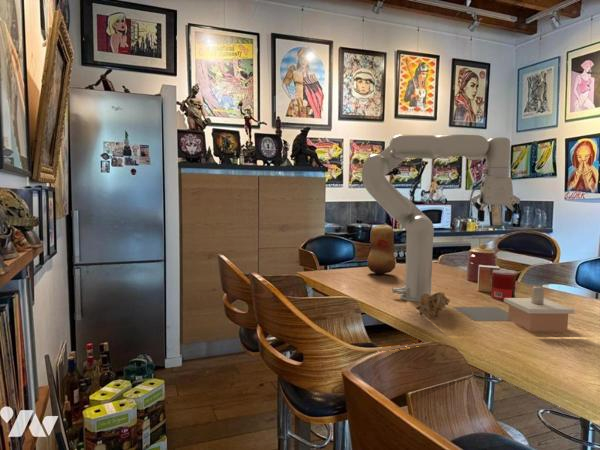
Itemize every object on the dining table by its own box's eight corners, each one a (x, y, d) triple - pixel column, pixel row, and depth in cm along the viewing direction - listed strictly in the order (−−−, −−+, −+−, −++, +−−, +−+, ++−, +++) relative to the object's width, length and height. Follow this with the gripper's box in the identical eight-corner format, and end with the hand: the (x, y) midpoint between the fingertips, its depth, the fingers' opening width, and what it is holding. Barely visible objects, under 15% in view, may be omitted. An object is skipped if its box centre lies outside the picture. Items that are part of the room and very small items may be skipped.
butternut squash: (366, 276, 196) (368, 225, 194) (366, 271, 209) (368, 223, 208) (395, 277, 194) (397, 226, 192) (393, 272, 207) (395, 224, 205)
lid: (529, 313, 113) (530, 292, 112) (503, 301, 126) (504, 282, 125) (573, 313, 113) (575, 292, 113) (544, 302, 126) (545, 283, 126)
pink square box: (529, 333, 114) (530, 312, 114) (508, 321, 125) (509, 302, 125) (567, 333, 114) (568, 312, 114) (542, 321, 125) (543, 302, 125)
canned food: (517, 303, 148) (518, 273, 148) (494, 301, 150) (495, 272, 149) (510, 298, 156) (512, 270, 155) (488, 296, 157) (490, 269, 157)
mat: (474, 322, 123) (474, 320, 123) (452, 308, 139) (452, 306, 139) (525, 323, 124) (525, 321, 124) (497, 308, 140) (497, 307, 140)
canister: (501, 283, 184) (503, 245, 183) (473, 283, 184) (474, 245, 183) (488, 278, 197) (490, 242, 195) (461, 277, 197) (463, 242, 196)
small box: (477, 291, 167) (478, 266, 166) (477, 288, 172) (478, 264, 171) (499, 293, 164) (500, 268, 163) (497, 290, 169) (499, 265, 168)
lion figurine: (451, 322, 123) (452, 293, 123) (436, 323, 122) (438, 294, 121) (422, 309, 137) (423, 283, 137) (409, 310, 136) (410, 284, 135)
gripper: (477, 172, 138) (475, 221, 139) (527, 173, 138) (524, 222, 139) (467, 173, 145) (465, 220, 146) (514, 174, 146) (512, 221, 147)
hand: (494, 221), depth 143 cm, fingers open, 9 cm apart
